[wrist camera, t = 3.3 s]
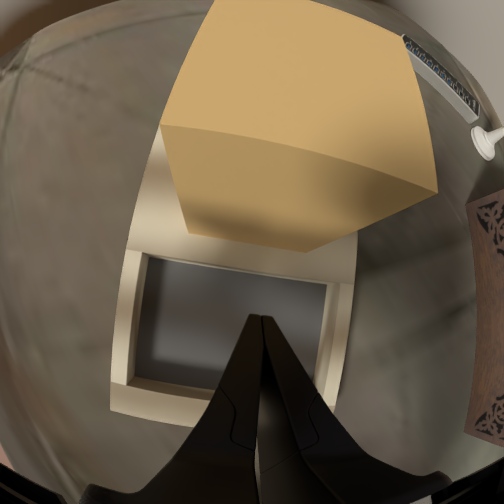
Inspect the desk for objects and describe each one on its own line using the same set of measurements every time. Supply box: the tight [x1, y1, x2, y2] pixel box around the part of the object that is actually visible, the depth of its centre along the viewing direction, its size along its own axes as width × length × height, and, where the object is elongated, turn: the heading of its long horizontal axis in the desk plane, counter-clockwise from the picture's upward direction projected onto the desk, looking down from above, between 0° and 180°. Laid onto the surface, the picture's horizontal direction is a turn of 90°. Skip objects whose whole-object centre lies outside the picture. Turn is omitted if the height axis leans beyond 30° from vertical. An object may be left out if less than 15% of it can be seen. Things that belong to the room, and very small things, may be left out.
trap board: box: [110, 125, 358, 427], centre depth 19 cm, size 37×14×2 cm, turn 172°
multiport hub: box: [401, 34, 480, 124], centre depth 26 cm, size 4×14×2 cm, turn 54°
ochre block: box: [159, 0, 438, 253], centre depth 12 cm, size 7×7×11 cm
